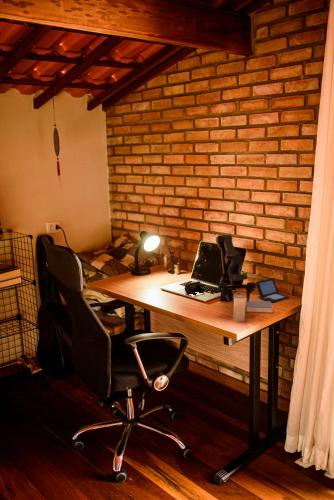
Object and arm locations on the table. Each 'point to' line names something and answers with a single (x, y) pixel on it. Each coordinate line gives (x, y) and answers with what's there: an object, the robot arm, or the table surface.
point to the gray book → (259, 306)
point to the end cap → (194, 288)
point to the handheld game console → (269, 291)
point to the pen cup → (239, 307)
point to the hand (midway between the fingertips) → (239, 302)
